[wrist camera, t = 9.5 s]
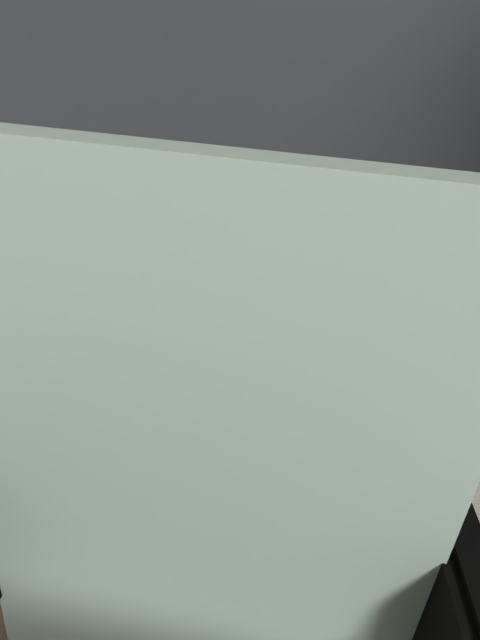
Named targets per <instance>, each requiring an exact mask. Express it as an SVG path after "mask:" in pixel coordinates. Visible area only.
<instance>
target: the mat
mask: <svg viewBox="0 0 480 640" xmlns="http://www.w3.org/2000/svg"><path fill="white" fill-rule="evenodd" d="M0 122H2V123H12V124H21V125H31V126H40V127H50V128H59V129H69V130H79V131H88V132H98V133H107V134H117V135H126V136H136V137H145V138H155V139H165V140H174V141H184V142H193V143H203V144H212V145H222V146H231V147H241V148H250V149H260V150H270V151H279V152H289V153H298V154H308V155H317V156H327V157H336V158H346V159H356V160H365V161H375V162H384V163H394V164H403V165H413V166H422V167H432V168H442V169H451V170H461V171H470V172H480V0H0Z"/></svg>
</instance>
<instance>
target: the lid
mask: <svg viewBox="0 0 480 640" xmlns="http://www.w3.org/2000/svg"><path fill="white" fill-rule="evenodd" d="M479 483H480V172H470V171H461V170H451V169H442V168H432V167H422V166H413V165H403V164H394V163H384V162H375V161H365V160H356V159H346V158H336V157H327V156H317V155H308V154H298V153H289V152H279V151H270V150H260V149H250V148H241V147H231V146H222V145H212V144H203V143H193V142H184V141H174V140H165V139H155V138H145V137H136V136H126V135H117V134H107V133H98V132H88V131H79V130H69V129H59V128H50V127H40V126H31V125H21V124H12V123H2V122H0V588H1V593H2V597H1V599H0V604H1V609H2V614H3V618H4V623H5V628H6V633H7V638H8V640H412V638H413V635H414V633H415V630H416V628H417V625H418V623H419V620H420V618H421V615H422V613H423V610H424V608H425V605H426V603H427V600H428V597H429V595H430V592H431V590H432V587H433V585H434V582H435V580H436V577H437V575H438V572H439V570H440V567H441V565H442V563H444V564H447V561H448V559H449V556H450V554H451V552H452V549H453V547H454V544H455V542H456V539H457V537H458V534H459V532H460V529H461V527H462V524H463V522H464V519H465V517H466V515H467V512H468V510H469V507H470V505H471V502H472V500H473V497H474V495H475V492H476V490H477V487H478V485H479Z"/></svg>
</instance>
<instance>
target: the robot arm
mask: <svg viewBox="0 0 480 640" xmlns="http://www.w3.org/2000/svg"><path fill="white" fill-rule="evenodd" d="M1 597H2V593H1V588H0V599H1ZM412 640H480V523H479V520H478V518H477V515H476V513H475V510H474V508H473V505H472V502H471V505H470V507H469V510H468V512H467V515H466V517H465V519H464V522H463V524H462V527H461V529H460V532H459V534H458V537H457V539H456V542H455V544H454V547H453V549H452V552H451V554H450V556H449V559H448V561H447V564H444V563H442V565H441V567H440V570H439V572H438V575H437V577H436V580H435V582H434V585H433V587H432V590H431V592H430V595H429V597H428V600H427V603H426V605H425V608H424V610H423V613H422V615H421V618H420V620H419V623H418V625H417V628H416V630H415V633H414V635H413V638H412Z"/></svg>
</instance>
